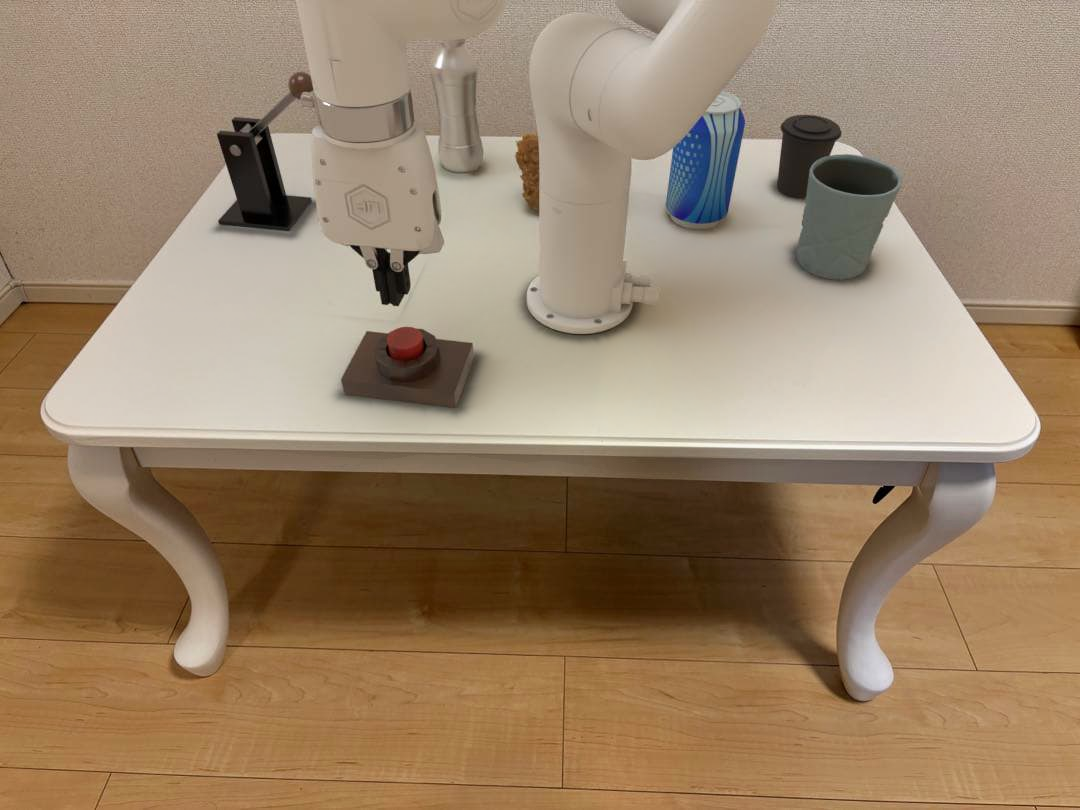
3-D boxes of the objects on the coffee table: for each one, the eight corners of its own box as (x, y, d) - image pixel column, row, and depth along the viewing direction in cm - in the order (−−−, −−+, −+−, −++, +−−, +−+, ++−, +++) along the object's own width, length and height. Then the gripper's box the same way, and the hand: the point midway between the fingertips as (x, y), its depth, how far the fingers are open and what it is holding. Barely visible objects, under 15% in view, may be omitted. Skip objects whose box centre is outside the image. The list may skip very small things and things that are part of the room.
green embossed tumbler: (886, 277, 94) (919, 189, 86) (812, 289, 93) (839, 200, 84) (843, 234, 101) (870, 148, 93) (773, 244, 100) (795, 158, 91)
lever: (325, 84, 92) (305, 61, 90) (315, 95, 90) (294, 72, 88) (255, 150, 100) (235, 130, 98) (244, 161, 98) (223, 141, 96)
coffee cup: (755, 182, 111) (769, 115, 104) (800, 170, 114) (817, 104, 107) (790, 208, 106) (808, 139, 99) (836, 195, 109) (857, 127, 102)
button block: (474, 358, 84) (471, 329, 81) (455, 408, 78) (452, 380, 75) (369, 346, 85) (363, 317, 82) (344, 394, 80) (337, 366, 77)
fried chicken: (618, 223, 103) (625, 129, 94) (514, 223, 103) (511, 130, 94) (613, 187, 111) (620, 96, 101) (516, 187, 111) (513, 96, 101)
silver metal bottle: (478, 180, 112) (468, 37, 98) (434, 176, 113) (418, 33, 99) (489, 160, 116) (481, 20, 102) (446, 156, 117) (433, 17, 103)
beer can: (736, 228, 103) (760, 111, 91) (678, 236, 101) (695, 118, 90) (711, 197, 108) (731, 83, 97) (655, 204, 107) (669, 90, 96)
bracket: (313, 204, 107) (292, 115, 98) (290, 235, 102) (265, 143, 93) (246, 198, 108) (219, 110, 99) (220, 228, 103) (189, 137, 94)
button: (428, 341, 80) (426, 328, 79) (418, 363, 78) (416, 350, 77) (395, 337, 81) (393, 324, 79) (384, 359, 78) (382, 346, 77)
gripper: (258, 123, 60) (307, 311, 72) (444, 140, 58) (460, 329, 71) (297, 86, 65) (335, 267, 78) (467, 100, 63) (478, 283, 76)
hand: (394, 296), depth 74 cm, fingers closed
